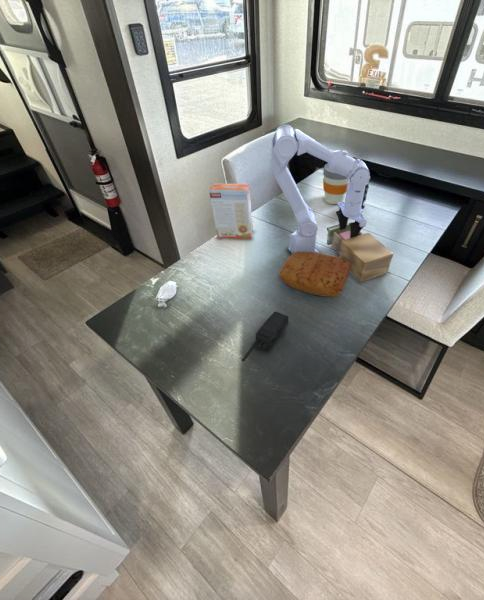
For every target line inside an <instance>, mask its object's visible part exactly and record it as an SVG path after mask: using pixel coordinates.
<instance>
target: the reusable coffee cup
mask: <svg viewBox="0 0 484 600" xmlns="http://www.w3.org/2000/svg"><path fill="white" fill-rule="evenodd" d="M322 174H323V175H322V176H323V178H322V186H323V187H322V188H323V192H324V193H323V194H324V201H325V202H326V203H328V204H331V205H338V203H339V202H342V201H343V202H345V198H346V192H347V186H348V181H349V178H347V177H345V176H343V175H341V174H339V173H337V172H335V171H333V170H332V169H330V168H329V165H328V162H326V163H325V165H324V167H323V172H322Z"/></svg>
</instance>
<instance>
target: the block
mask: <svg viewBox="0 0 484 600" xmlns="http://www.w3.org/2000/svg"><path fill="white" fill-rule="evenodd" d="M350 233H351V232H350V231H346V232H343V233H340V234H339V236H340V237H341V238H342V239H343V240H346V239H349V238H350Z"/></svg>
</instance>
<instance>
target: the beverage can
mask: <svg viewBox="0 0 484 600" xmlns="http://www.w3.org/2000/svg"><path fill="white" fill-rule="evenodd" d="M369 186H370V185H369V181H368V182H367V183H366V185H365V191H364V196H363V201H362V206H361V209H362V210H363V209H365V206H366V202H367V196H368V192H369V188H370V187H369Z"/></svg>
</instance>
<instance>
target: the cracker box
mask: <svg viewBox="0 0 484 600" xmlns="http://www.w3.org/2000/svg"><path fill="white" fill-rule="evenodd" d="M208 192H209V197H210V205H211V209H212V215H213V220H214V226H215V231H216V236H217V239H238V240H239V239H242V240H251V239H252V237H253V233H254V225H253V215H252V214H253V213H252V204H251V203H252V202H251V194H250V193H251V192H250V183H217V182H216V183H214V182H213V183H211V186H210V188H209V190H208Z"/></svg>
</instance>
